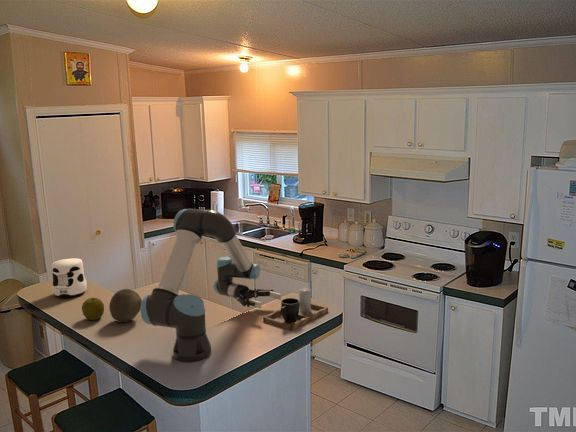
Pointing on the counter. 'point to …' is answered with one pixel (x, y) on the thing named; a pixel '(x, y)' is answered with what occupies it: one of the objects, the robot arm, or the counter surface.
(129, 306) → the cantaloupe
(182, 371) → the counter surface
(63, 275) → the white trooper helmet
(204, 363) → the counter surface
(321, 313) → the frame
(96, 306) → the apple
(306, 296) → the grey upright cylinder
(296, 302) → the mug
